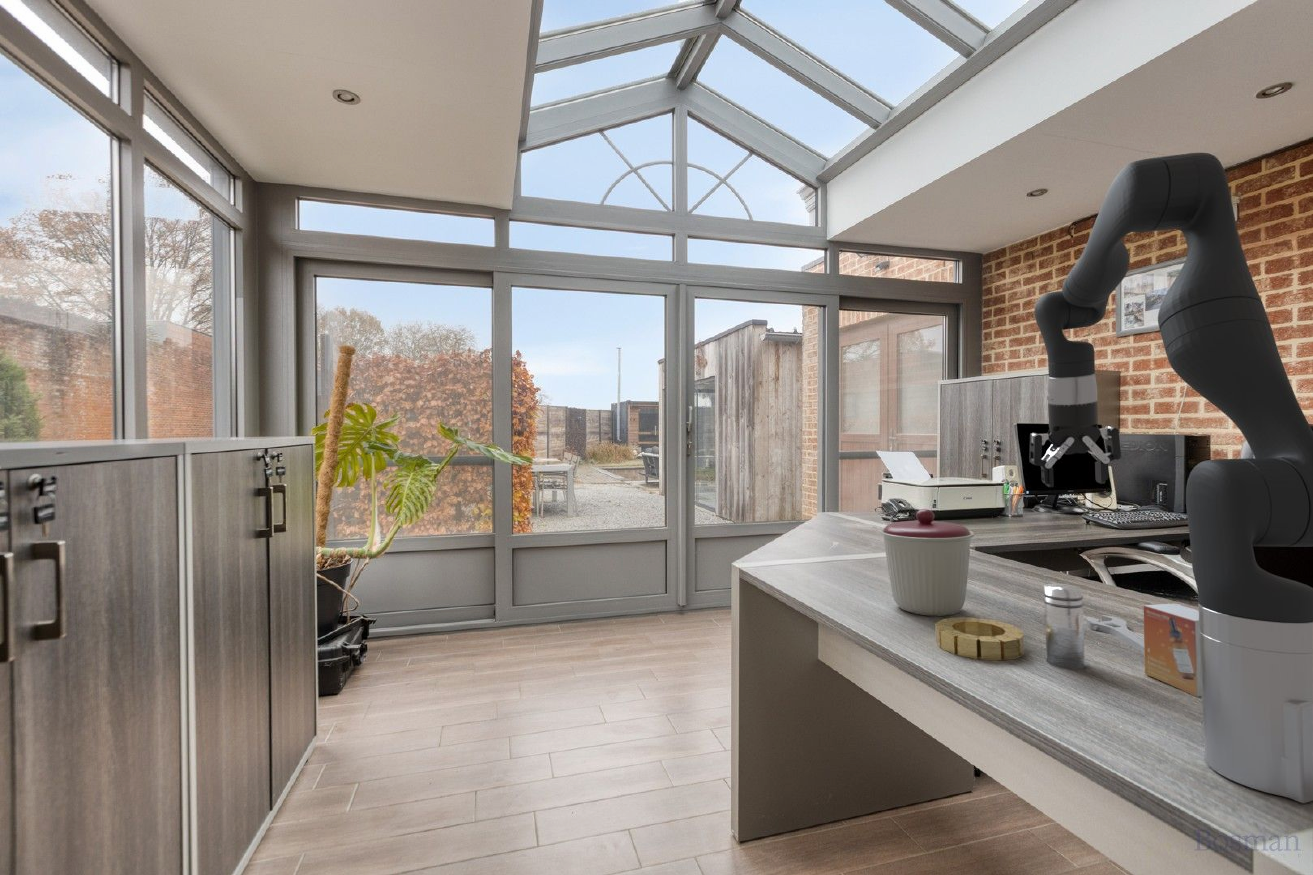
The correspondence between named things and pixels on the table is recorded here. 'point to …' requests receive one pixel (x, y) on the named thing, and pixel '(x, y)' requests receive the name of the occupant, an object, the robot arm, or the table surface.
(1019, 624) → the table surface
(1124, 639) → the adjustable wrench
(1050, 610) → the spice jar
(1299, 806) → the table surface
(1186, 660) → the small box
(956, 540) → the canister
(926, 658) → the table surface
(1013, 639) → the ring
